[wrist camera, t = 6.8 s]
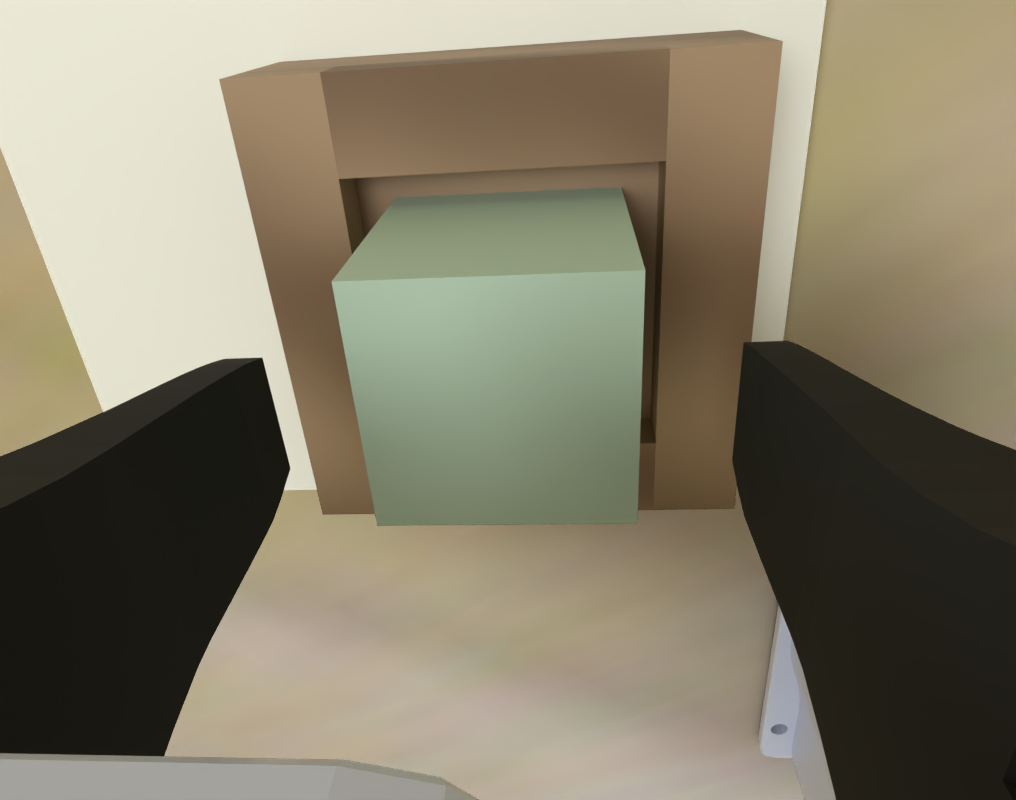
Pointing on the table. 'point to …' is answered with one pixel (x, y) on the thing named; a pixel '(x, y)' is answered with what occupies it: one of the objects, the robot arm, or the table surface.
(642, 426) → the walnut socket base
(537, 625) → the table surface
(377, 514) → the sage block
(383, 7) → the cream board
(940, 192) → the table surface
